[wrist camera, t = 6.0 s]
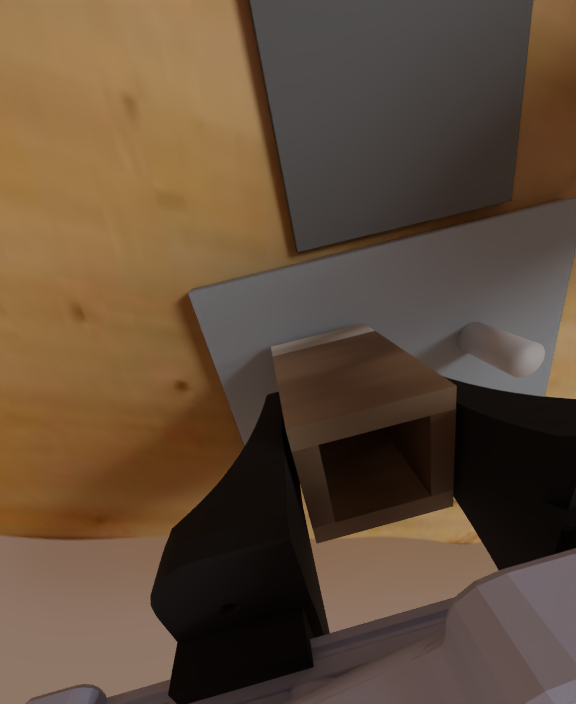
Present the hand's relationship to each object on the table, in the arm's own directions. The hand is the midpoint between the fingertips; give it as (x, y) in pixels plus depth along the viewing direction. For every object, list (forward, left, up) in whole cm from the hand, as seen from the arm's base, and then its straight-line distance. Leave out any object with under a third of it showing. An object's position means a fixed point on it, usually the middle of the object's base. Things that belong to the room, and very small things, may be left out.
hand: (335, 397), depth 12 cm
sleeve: (0, 0, -2) cm, 2 cm away
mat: (-5, -11, -3) cm, 12 cm away
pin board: (-4, 0, -3) cm, 5 cm away
